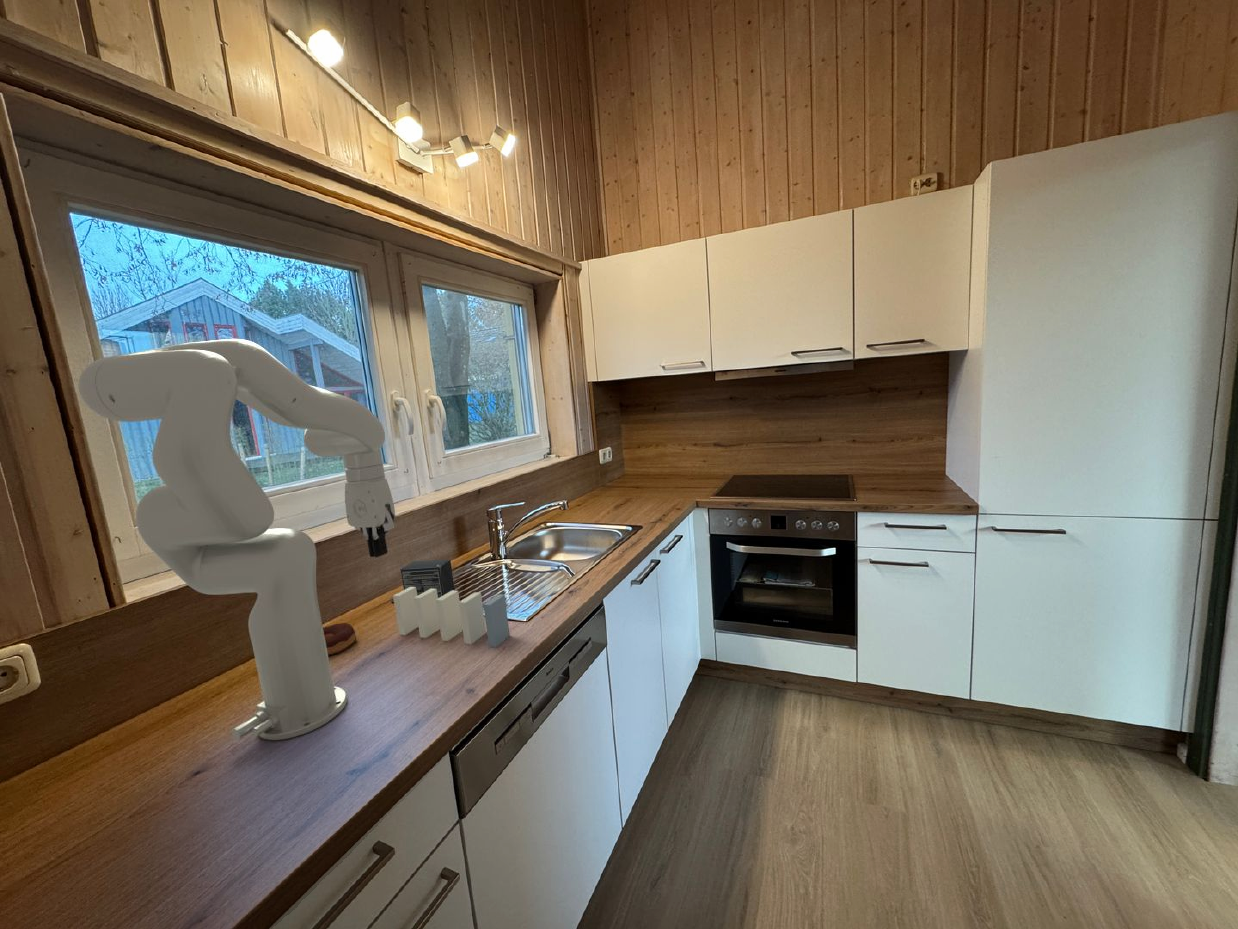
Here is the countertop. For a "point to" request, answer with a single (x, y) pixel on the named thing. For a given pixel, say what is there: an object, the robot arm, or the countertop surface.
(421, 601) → the domino
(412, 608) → the domino
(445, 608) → the domino
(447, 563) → the small box
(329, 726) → the countertop surface
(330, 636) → the donut
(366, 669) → the countertop surface
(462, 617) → the domino
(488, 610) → the domino
